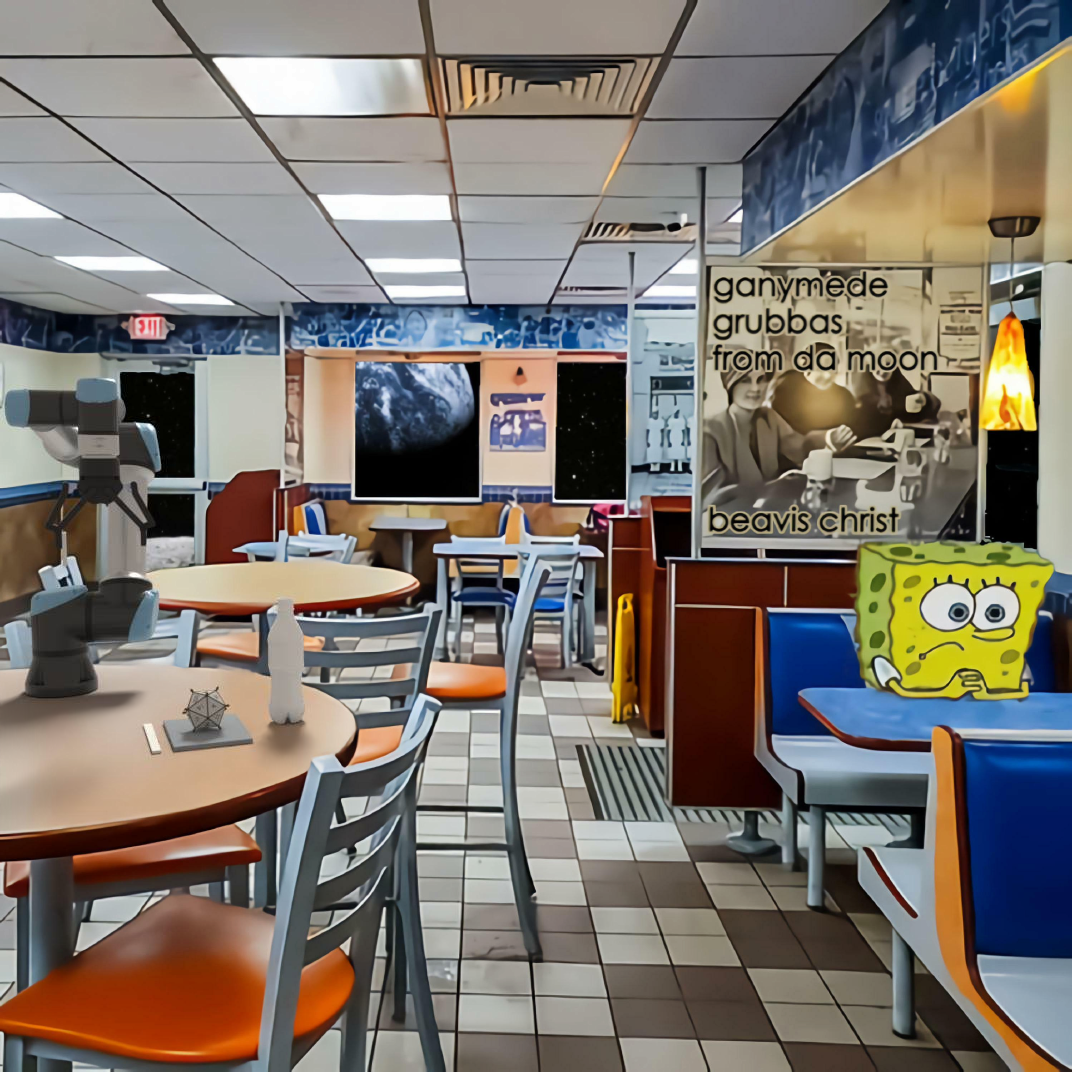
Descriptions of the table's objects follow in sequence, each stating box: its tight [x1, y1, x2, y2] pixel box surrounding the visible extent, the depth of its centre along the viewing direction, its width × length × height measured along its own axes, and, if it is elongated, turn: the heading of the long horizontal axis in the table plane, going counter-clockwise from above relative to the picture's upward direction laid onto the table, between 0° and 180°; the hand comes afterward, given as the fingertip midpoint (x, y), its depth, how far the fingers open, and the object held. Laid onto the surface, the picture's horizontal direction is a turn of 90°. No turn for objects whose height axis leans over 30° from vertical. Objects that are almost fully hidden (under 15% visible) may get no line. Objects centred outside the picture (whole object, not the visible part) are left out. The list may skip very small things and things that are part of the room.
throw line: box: [143, 722, 162, 755], centre depth 199 cm, size 20×2×1 cm, turn 25°
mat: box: [163, 713, 254, 752], centre depth 203 cm, size 20×14×1 cm
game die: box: [181, 685, 231, 732], centre depth 203 cm, size 9×8×10 cm
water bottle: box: [267, 596, 306, 725], centre depth 212 cm, size 7×7×25 cm
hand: (102, 564), depth 210 cm, fingers open, 13 cm apart
